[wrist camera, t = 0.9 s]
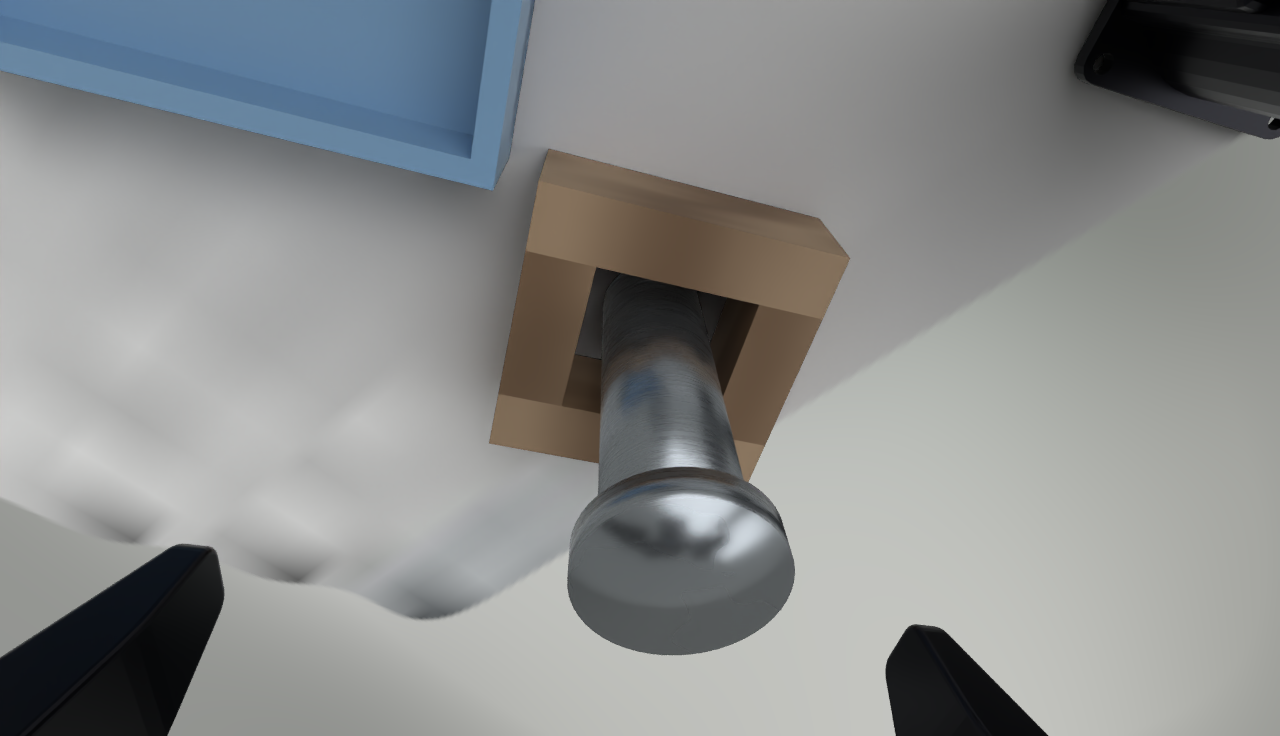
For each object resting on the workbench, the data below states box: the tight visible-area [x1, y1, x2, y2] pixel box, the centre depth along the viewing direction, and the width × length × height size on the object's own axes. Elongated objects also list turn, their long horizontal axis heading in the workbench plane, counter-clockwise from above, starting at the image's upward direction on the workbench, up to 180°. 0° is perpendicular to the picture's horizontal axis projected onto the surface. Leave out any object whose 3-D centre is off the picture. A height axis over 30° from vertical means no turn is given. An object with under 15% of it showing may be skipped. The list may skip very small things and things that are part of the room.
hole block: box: [489, 149, 850, 482], centre depth 20 cm, size 8×8×3 cm
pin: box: [567, 273, 795, 655], centre depth 16 cm, size 4×4×11 cm
